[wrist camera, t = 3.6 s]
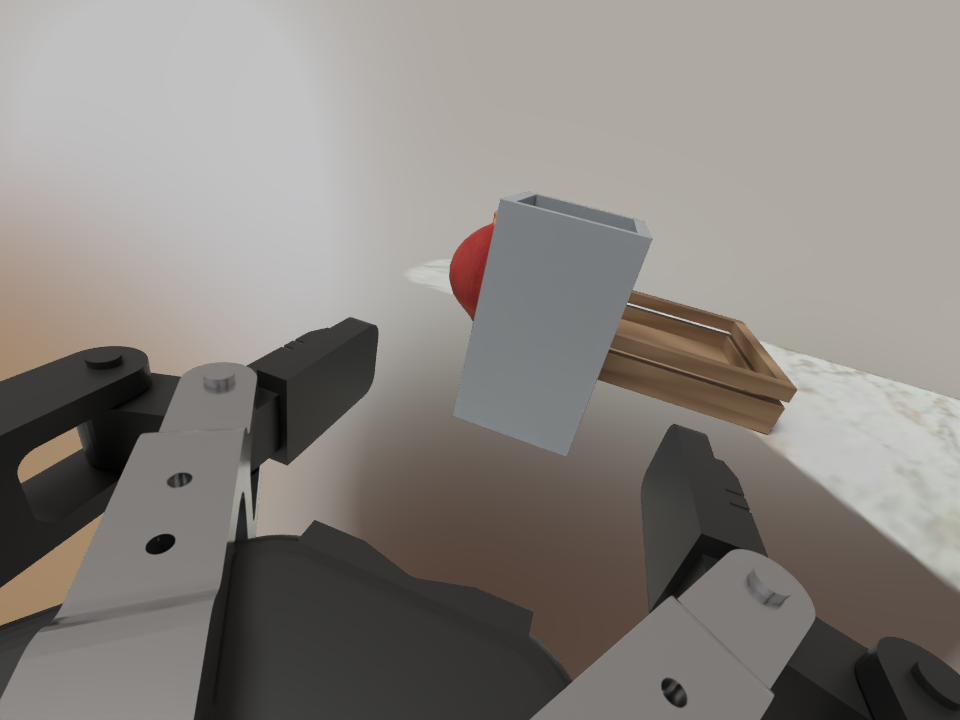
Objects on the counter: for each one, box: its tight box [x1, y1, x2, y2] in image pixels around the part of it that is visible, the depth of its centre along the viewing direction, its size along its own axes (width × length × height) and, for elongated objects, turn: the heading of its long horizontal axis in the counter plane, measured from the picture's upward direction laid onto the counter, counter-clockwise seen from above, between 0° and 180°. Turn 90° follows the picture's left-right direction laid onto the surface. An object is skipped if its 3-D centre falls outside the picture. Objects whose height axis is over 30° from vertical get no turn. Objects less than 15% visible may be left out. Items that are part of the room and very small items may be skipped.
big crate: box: [598, 290, 797, 434], centre depth 31 cm, size 12×12×3 cm
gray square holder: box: [453, 191, 652, 457], centre depth 20 cm, size 6×6×10 cm
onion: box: [449, 210, 498, 322], centre depth 29 cm, size 6×6×8 cm
